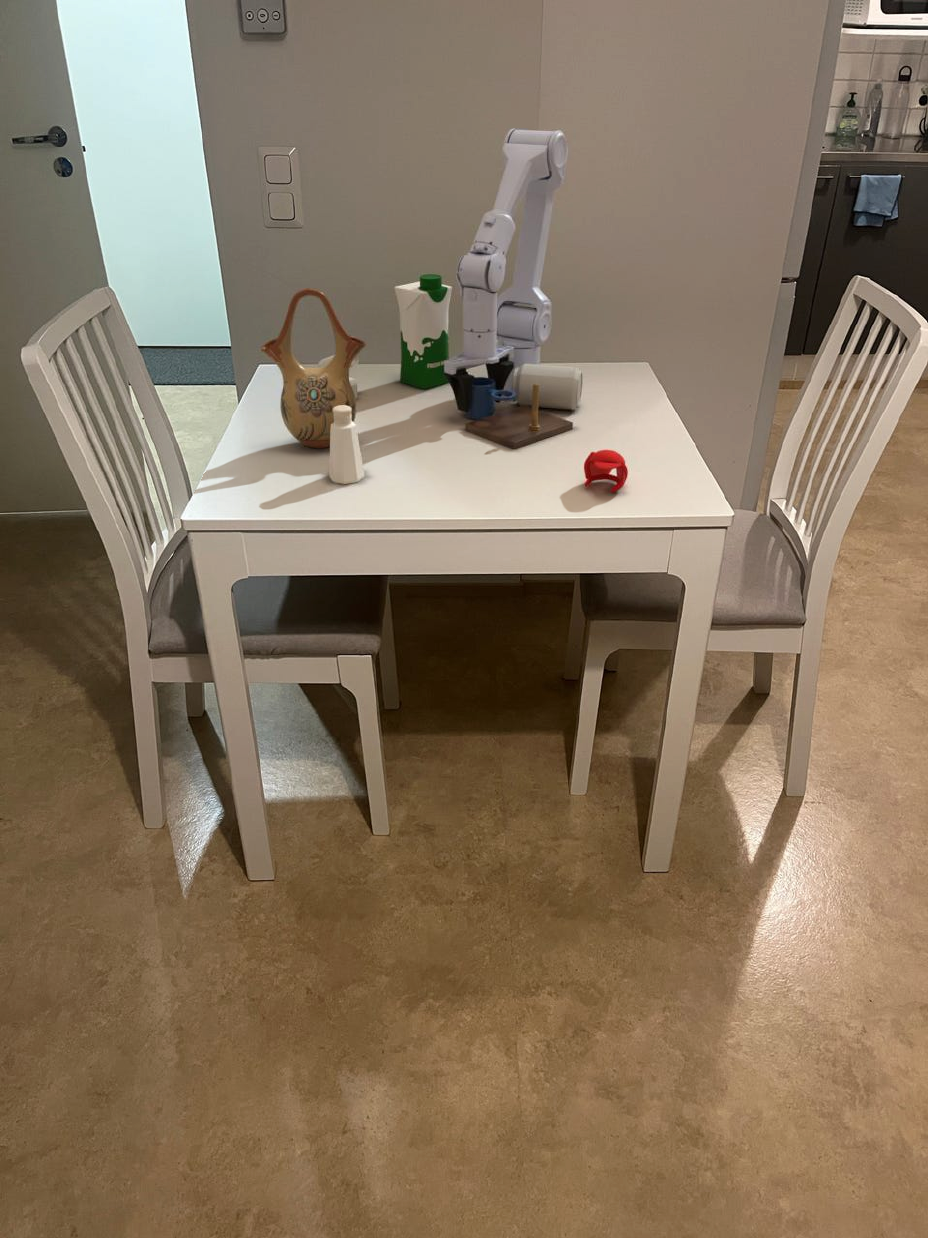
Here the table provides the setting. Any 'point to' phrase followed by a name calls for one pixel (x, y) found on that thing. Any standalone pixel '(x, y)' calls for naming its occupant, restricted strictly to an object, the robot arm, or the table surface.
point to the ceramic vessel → (313, 379)
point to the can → (548, 385)
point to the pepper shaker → (344, 448)
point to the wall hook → (351, 380)
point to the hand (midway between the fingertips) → (479, 405)
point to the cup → (485, 398)
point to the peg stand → (519, 425)
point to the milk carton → (424, 331)
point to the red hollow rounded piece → (605, 468)
